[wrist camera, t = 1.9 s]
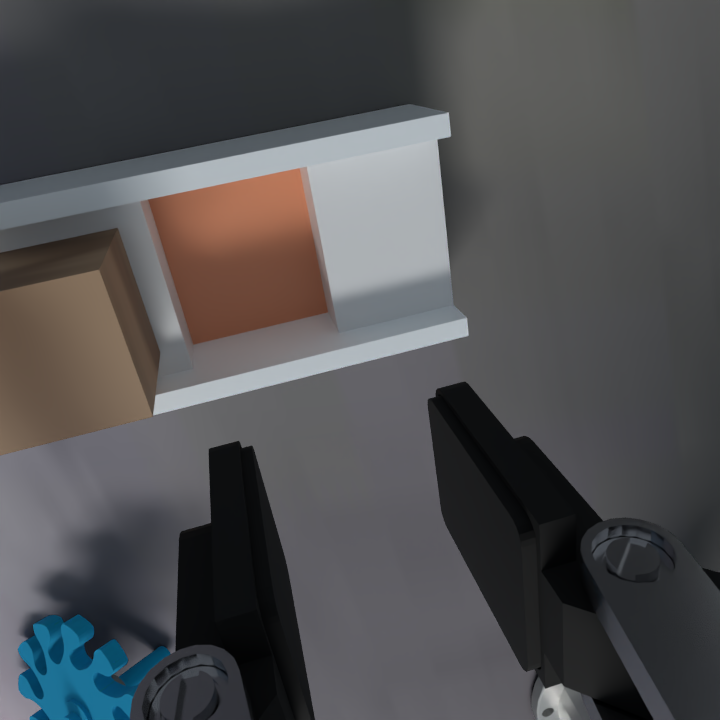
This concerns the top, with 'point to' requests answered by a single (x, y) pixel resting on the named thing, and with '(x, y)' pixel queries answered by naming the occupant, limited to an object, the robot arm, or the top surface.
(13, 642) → the top surface
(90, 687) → the gear
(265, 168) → the trough
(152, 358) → the block
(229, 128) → the top surface
